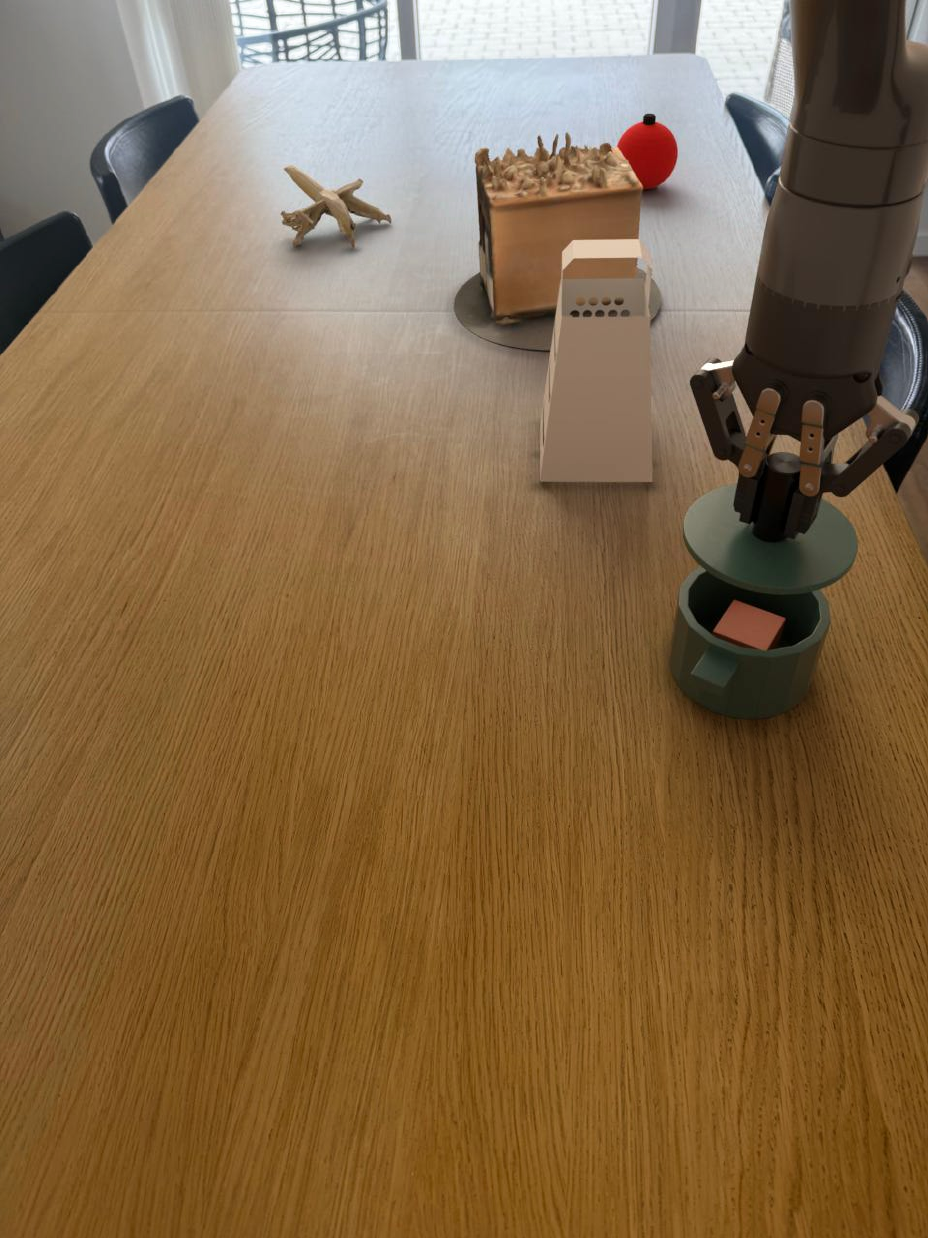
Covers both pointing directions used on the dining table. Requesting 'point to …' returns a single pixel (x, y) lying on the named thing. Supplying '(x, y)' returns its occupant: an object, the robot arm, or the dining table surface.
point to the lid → (769, 537)
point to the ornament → (649, 151)
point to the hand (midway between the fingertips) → (772, 523)
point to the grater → (599, 376)
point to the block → (750, 627)
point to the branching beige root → (328, 207)
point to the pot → (745, 649)
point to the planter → (547, 238)
